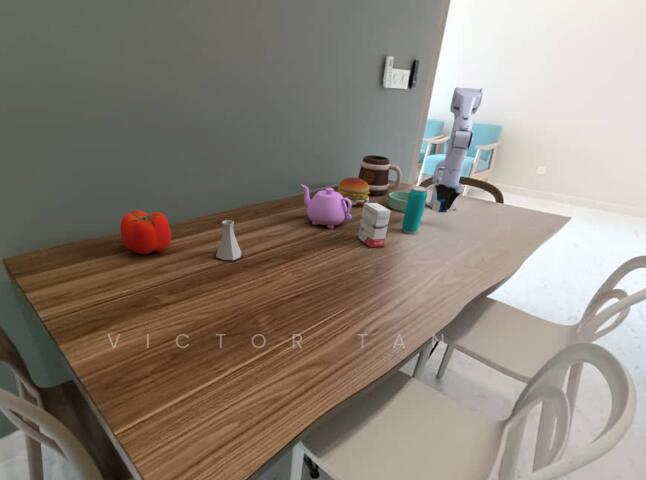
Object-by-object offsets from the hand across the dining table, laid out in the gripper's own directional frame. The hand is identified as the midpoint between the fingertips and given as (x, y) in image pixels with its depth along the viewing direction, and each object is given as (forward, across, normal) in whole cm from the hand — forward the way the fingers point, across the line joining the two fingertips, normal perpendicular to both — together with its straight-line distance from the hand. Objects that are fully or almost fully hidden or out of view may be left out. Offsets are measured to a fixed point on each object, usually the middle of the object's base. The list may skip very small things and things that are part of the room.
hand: (443, 207), depth 142 cm
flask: (+7, +20, -79) cm, 82 cm away
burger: (+7, -27, -24) cm, 37 cm away
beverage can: (+7, +6, -15) cm, 17 cm away
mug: (+7, -41, -7) cm, 42 cm away
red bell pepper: (+7, +14, -101) cm, 102 cm away
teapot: (+7, -5, -43) cm, 44 cm away
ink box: (+7, +14, -33) cm, 36 cm away
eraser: (+1, 0, 0) cm, 1 cm away
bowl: (+6, -20, -4) cm, 21 cm away
